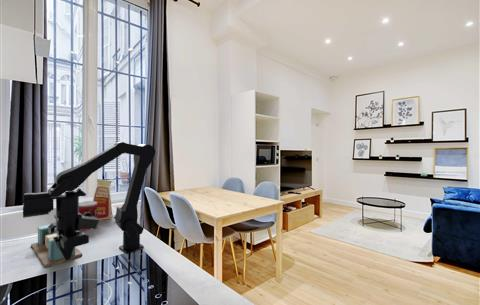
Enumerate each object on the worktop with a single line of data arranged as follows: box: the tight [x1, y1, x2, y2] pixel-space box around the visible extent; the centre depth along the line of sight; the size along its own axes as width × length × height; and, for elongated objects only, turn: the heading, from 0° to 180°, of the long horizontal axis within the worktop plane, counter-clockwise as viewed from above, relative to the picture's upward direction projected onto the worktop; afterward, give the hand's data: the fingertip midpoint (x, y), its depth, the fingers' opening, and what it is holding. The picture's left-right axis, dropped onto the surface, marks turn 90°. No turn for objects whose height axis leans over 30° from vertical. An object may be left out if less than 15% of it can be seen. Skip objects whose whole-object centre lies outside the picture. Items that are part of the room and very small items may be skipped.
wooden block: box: [45, 233, 57, 248], centre depth 82 cm, size 10×4×4 cm, turn 54°
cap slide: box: [48, 238, 75, 261], centre depth 77 cm, size 4×6×6 cm, turn 141°
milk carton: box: [92, 178, 114, 221], centre depth 118 cm, size 9×9×20 cm
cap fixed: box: [37, 223, 55, 246], centre depth 87 cm, size 4×6×6 cm, turn 141°
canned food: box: [79, 200, 97, 231], centre depth 104 cm, size 8×8×11 cm
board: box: [30, 241, 83, 268], centre depth 82 cm, size 21×10×1 cm, turn 51°
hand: (67, 259), depth 73 cm, fingers closed
